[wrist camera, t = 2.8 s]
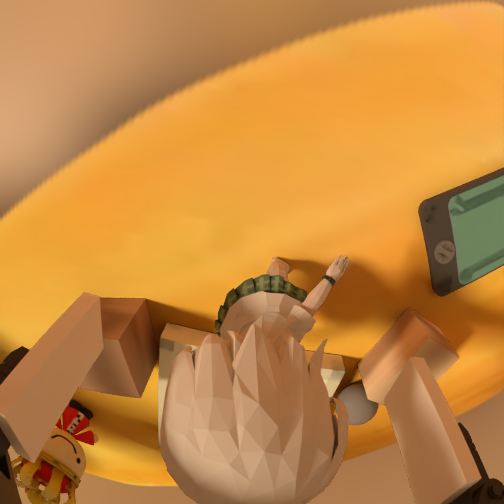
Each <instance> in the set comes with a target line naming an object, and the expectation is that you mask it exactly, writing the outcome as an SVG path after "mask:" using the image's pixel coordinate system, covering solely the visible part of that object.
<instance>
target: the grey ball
mask: <svg viewBox="0 0 504 504" xmlns="http://www.w3.org/2000/svg"><path fill="white" fill-rule="evenodd" d="M337 399H339V400H342V401H343V403H344V405H345V408H346V410H347V412H348V414H349V422H348V424H350V425H361V424H364V423H366V422H368V421H369V420H371V419H372V418H373V416H374V415H375V414H376V412H377V409H378V405H379V403H376V402H374V401H371V400H368V398H367V395H366V391H365V388H364V385H363V384H360V383H358V384H352V385H350V386H348V387H346V388H345V389H343V390H342V391H341V392H340V394H339V395H338V397H337ZM336 412H337V404H336Z"/></svg>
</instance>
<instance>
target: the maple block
mask: <svg viewBox="0 0 504 504" xmlns="http://www.w3.org/2000/svg"><path fill="white" fill-rule="evenodd" d="M410 357H419V358H424V360H425V362H426V363H427V365H428V367H429V369H430V371H431V372H432V374H433V376H434V378H435V380H436V381H437V380H438V379H439V378H440V377H441V376H442V375H443V374H444V373H445V372H446V371H447V370H448V369H449V368H450V367H451V366H452V365H453V364H454V363H455V362H456V361H457V360H458V359H459V358H460V357H459V356H458V354H457V353H456V351H455V350H454V348H453V347H452V345H451V344H450V342H449V341H448V340H447V338H446V337H445V335H444V334H443V333H442V331H441V330H440V328H439V327H438V326H436V325H435V324H433V323H432V322H430V321H429V320H427V319H426V318H424V317H423V316H421V315H420V314H418V313H417V312H415V311H414V310H412V309H411V308H409V307H408V308H407V309H406V310H405V312H404V313H403V314H402V315H401V316H400V318H399V319H398V320H397V321H396V322H395V323H394V324H393V326H392V327H391V328H390V329H389V330H388V331H387V332H386V334H385V335H384V336H383V337H382V338H381V339H380V340H379V341H378V342H377V343H376V344H375V346H374V347H373V348H372V349H371V350H370V351H369V352H368V353H367V354H366V355H365V356H364V357H363V358H362V359H361V360H360V361H359V362H358V363H357V366H358V369H359V372H360V375H361V378H362V382H363V385H364V388H365V391H366V395H367V398H368V400H371V401H374V402H376V403H379V404H382V405H385V402H384V398H385V397H386V395H387V394H388V392H389V391H390V389H391V388H392V386H393V384H394V383H395V381H396V380H397V378H398V376H399V375H400V373H401V372H402V370H403V368H404V367H405V365H406V363H407V361H408V360H409V358H410ZM385 406H386V405H385Z"/></svg>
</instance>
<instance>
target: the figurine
mask: <svg viewBox="0 0 504 504" xmlns="http://www.w3.org/2000/svg"><path fill="white" fill-rule="evenodd" d="M345 257H346V255H345V256H343V258H342V259H341V260H340V261H339V259H340V258H341V255H339V256H338V257H337V258H336V259H335V260H334V262H333V263H332V264H331V265H330V267H329V268H328V270H327V272H326V275H325V276H324V277H323V280H322V281H321V282H320V283H319V284H318V285H317V286H316V287H315V288H314V289H313V290H312V291H311V292H310V293H309V294H308V296H307V292H306V291H304V290H303V289H300V288H298V287H295V286H294V285H293V284H292V283H291V282H289V281H288V271H289V270H290V268H289V264H287V263H286V262H284V261H282V260H281V259H279V258H277V257H275V258H272V261H271V265H270V266H269V268H268V274H266V275H261V276H259V277H257V278H255V279H253V278H251V279H248V280H245V281H244V282H243V283H242V284H241V285H239V286H238V287H237V288H236V289H235V290H234V288H233V289H232V290H231V291H230V292H229V293H228V294H227V296H226V299H225V302H224V305H223V306H222V305H221V306H220V309H219V312H218V320H215V328H216V329H217V331H218V332H217V333H216V334H217V335H218V337H219V338H218V337H216V336H214V335H212V334H209V335H207V336H205V338H204V341H203V343H202V345H201V346H199V347H196V348H195V350H193V351H191V350H192V347H191V346H186V347H185V348H184V349H183V350H182V351H181V352H180V353H179V354H178V355H177V356H176V358H175V359H174V360H173V364H172V367H171V371H170V375H169V379H168V383H167V387H166V392H165V399H164V406H163V413H162V421H161V429H160V434H161V455H162V457H163V459H164V461H165V463H166V465H167V471H168V473H169V474H170V475H171V477H172V478H173V479H174V480H175V482H176V483H177V484H178V486H179V487H180V488H181V489H182V491H183V492H184V493H185V494H186V495H187V496H188V497H190V498H191V499H192V500H194V501H195V502H196V503H198V504H306V503H308V502H309V501H310V500H312V499H313V498H314V497H316V496H317V495H318V494H320V493H321V492H322V491H324V489H325V488H326V487H327V486H328V485H329V484H330V483H331V481H332V479H333V478H334V476H335V474H336V472H337V471H338V469H339V467H340V465H341V463H342V457H343V455H344V453H345V452H346V449H347V436H348V422H349V414H348V412H347V410H346V408H345V405H344V403H343V401H342V400H339V399H336V398H333V397H329V395H328V391H327V388H326V386H325V383H324V381H323V378H322V376H321V367H322V360H323V352H324V346H325V344H326V342H327V339H326V340H324V341H323V342H322V344H321V345H320V346H319V347H318V349H317V350H316V351H315V353H314V354H313V355H312V357H311V358H310V362H309V364H308V365H307V360H306V354H305V349H304V346H302V345H300V344H299V343H300V341H301V340H302V338H303V337H304V335H305V333H307V332H309V331H310V330H311V329H312V328H313V325H314V323H315V320H314V318H313V316H314V314H315V313H316V311H317V310H318V309H319V307H320V306H321V305H322V304H323V302H324V301H325V300H326V298H327V296H328V294H329V291H330V289H331V287H332V286H333V285H334V283H335V282H336V281H337V280H339V279H340V278H341V276H342V275H343V274H344V272H345V270H346V268H347V266H348V264H349V262H350V261H347V259H348V257H346V258H345ZM338 261H339V262H338ZM346 261H347V262H346ZM337 262H338V263H337ZM192 352H193V354H192ZM191 354H192V356H191ZM329 400H331V401H332V402H334V403H336V404H337V415H338V420H337V417H336V415H334V414H331V408H330V402H329Z"/></svg>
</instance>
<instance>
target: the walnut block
mask: <svg viewBox="0 0 504 504" xmlns="http://www.w3.org/2000/svg"><path fill="white" fill-rule="evenodd" d="M100 308H101V323H102V336H103V347H104V348H103V350H102V351H101V353H100V355H99V356H98V358H97V359H96V361H95V362H94V364H93V365H92V367H91V368H90V370H89V371H88V373H87V375H86V376H85V378H84V379H83V381H82V382H81V384H80V388H81V389H85V390H90V391H95V392H101V393H107V394H113V395H119V396H126V397H133V398H141V396H142V394H143V392H144V389H145V387H146V385H147V382H148V380H149V378H150V375H151V373H152V371H153V368H154V366H155V364H156V362H157V359H158V357H159V349H158V345H157V341H156V338H155V334H154V330H153V326H152V323H151V319H150V315H149V310H148V306H147V302H146V298H100Z"/></svg>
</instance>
